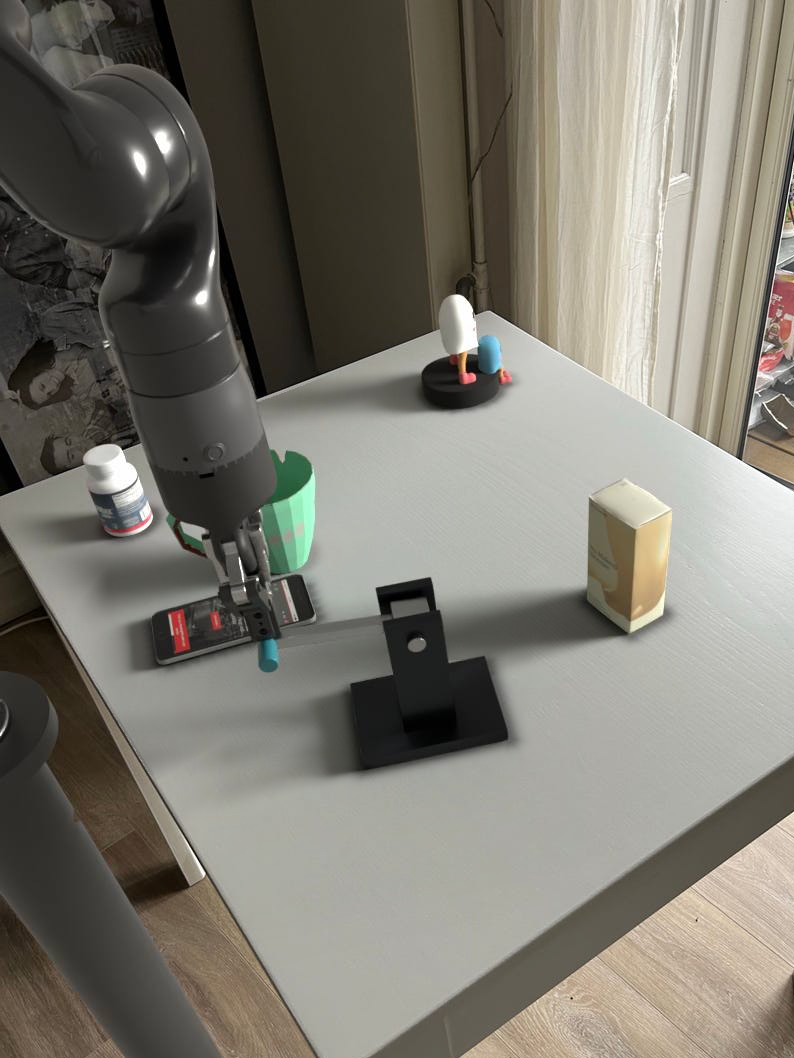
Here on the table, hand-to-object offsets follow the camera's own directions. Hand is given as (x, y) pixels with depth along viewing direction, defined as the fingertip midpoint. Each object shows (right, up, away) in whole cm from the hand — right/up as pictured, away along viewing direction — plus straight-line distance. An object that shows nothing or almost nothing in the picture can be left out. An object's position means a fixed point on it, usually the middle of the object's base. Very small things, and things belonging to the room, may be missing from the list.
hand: (266, 633), depth 74 cm
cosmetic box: (+29, +2, +17) cm, 34 cm away
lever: (+6, -1, +2) cm, 6 cm away
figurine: (+14, +31, +49) cm, 60 cm away
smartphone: (-7, +1, +20) cm, 22 cm away
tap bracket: (+12, -7, +10) cm, 17 cm away
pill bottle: (-22, +12, +34) cm, 42 cm away
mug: (-6, +7, +26) cm, 28 cm away
